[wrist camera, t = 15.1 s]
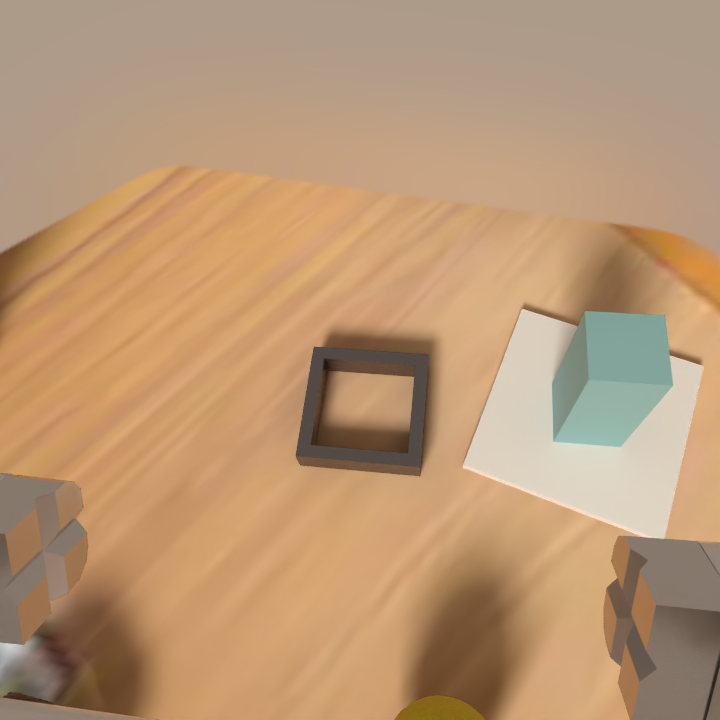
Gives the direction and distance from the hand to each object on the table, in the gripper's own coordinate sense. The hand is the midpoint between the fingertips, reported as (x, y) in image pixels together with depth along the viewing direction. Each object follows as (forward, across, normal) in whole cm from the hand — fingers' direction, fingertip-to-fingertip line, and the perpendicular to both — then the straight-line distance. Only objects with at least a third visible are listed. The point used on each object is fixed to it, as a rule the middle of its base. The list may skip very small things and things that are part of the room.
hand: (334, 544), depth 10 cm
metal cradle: (+31, +3, +11) cm, 33 cm away
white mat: (+31, -11, +10) cm, 35 cm away
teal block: (+31, -11, +10) cm, 34 cm away
